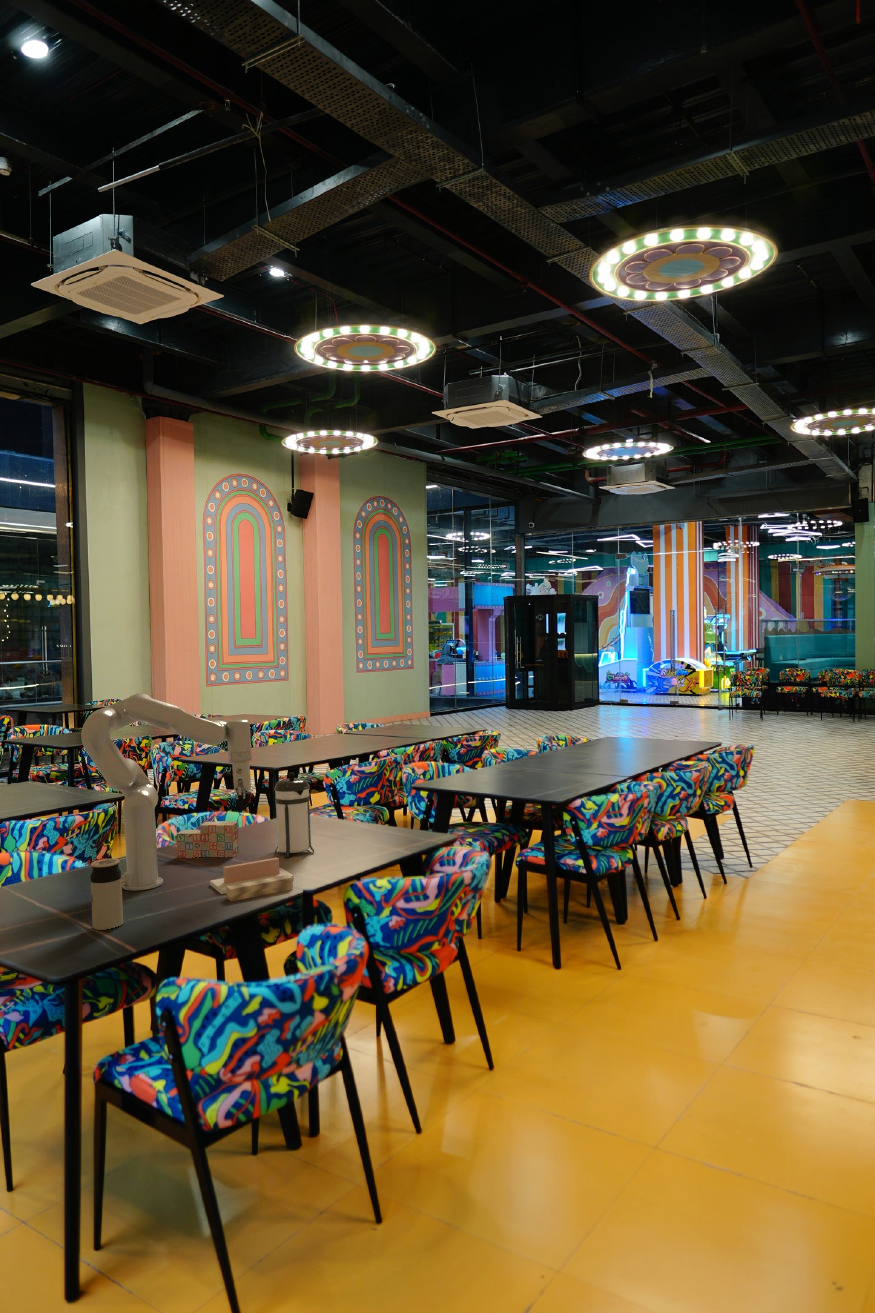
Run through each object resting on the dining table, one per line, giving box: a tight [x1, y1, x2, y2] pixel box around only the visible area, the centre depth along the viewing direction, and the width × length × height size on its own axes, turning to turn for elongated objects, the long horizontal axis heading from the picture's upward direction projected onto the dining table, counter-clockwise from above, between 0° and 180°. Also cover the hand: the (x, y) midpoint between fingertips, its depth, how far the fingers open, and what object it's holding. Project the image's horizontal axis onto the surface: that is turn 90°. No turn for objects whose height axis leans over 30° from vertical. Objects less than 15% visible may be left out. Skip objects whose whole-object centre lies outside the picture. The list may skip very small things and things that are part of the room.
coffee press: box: [274, 771, 315, 859], centre depth 307 cm, size 17×16×30 cm
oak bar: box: [225, 875, 294, 902], centre depth 258 cm, size 20×4×4 cm, turn 122°
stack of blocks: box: [176, 820, 240, 859], centre depth 307 cm, size 21×6×12 cm, turn 84°
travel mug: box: [89, 858, 124, 931], centre depth 233 cm, size 8×8×18 cm
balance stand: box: [209, 857, 295, 895], centre depth 270 cm, size 24×12×6 cm, turn 122°
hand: (242, 807), depth 277 cm, fingers open, 9 cm apart
